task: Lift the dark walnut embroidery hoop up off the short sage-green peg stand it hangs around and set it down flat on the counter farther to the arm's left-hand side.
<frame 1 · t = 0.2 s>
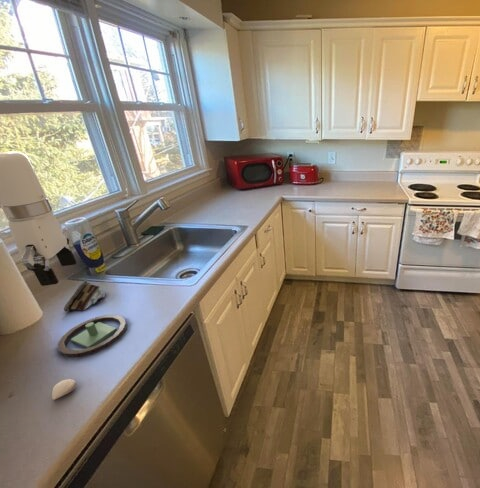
hand: (60, 273, 71), 24 cm above the countertop, tool pointing down, fingers open, 9 cm apart
cream half-moon wedge: (64, 393, 67), on the countertop
peg stand: (95, 336, 83), on the countertop
chocolate cake: (89, 303, 98), on the countertop
hoop: (95, 336, 83), on the countertop
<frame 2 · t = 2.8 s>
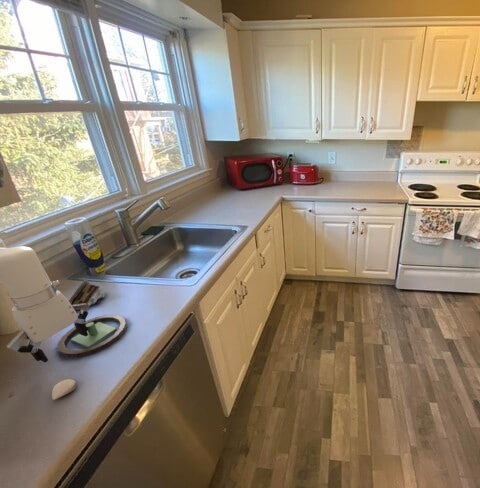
hand: (64, 346, 76), 3 cm above the countertop, tool pointing down, fingers open, 9 cm apart
nothing on the countertop moved.
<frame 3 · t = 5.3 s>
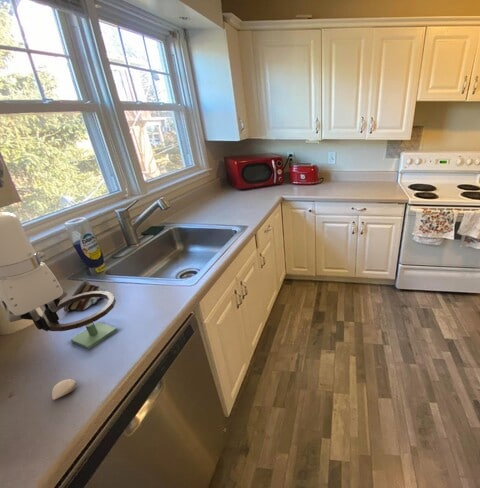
hand: (49, 326, 73), 10 cm above the countertop, tool pointing down, fingers closed on hoop, 1 cm apart
hoop: (81, 311, 79), point 9 cm above the countertop, touching gripper
everything else where it was.
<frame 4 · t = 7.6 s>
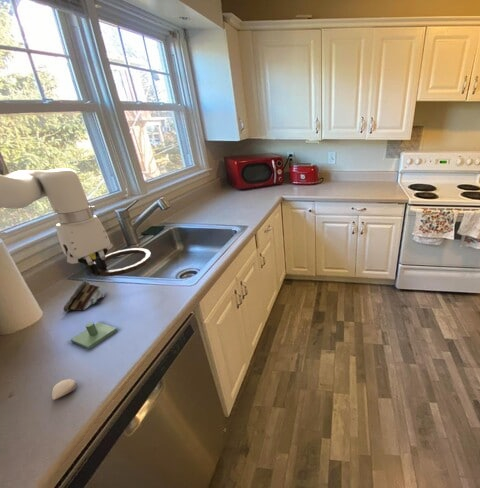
hand: (99, 272, 84), 17 cm above the countertop, tool pointing down, fingers closed on hoop, 1 cm apart
hoop: (123, 263, 91), point 16 cm above the countertop, touching gripper
everything else where it was.
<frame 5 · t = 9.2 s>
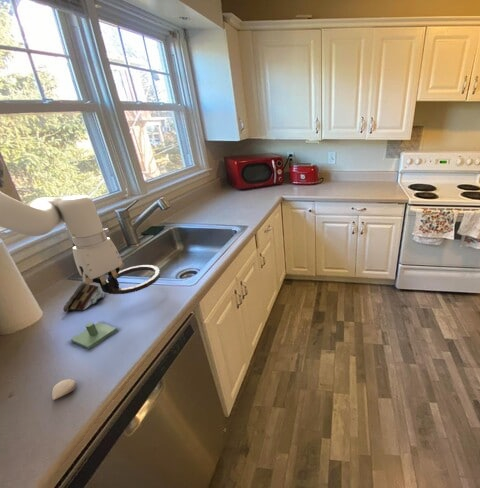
hand: (112, 290, 89), 9 cm above the countertop, tool pointing down, fingers closed on hoop, 1 cm apart
hoop: (134, 280, 95), point 9 cm above the countertop, touching gripper
everything else where it was.
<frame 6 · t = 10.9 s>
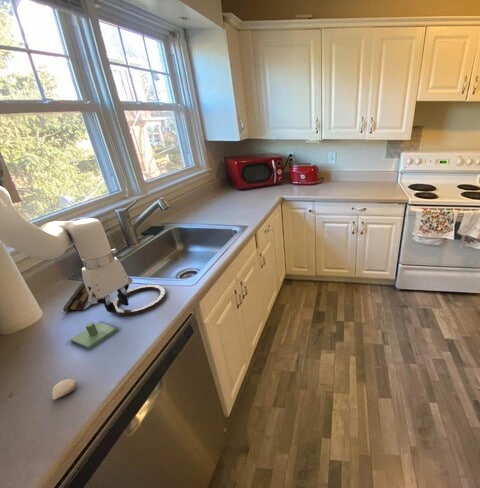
hand: (118, 307, 92), 2 cm above the countertop, tool pointing down, fingers open, 3 cm apart
hoop: (140, 300, 99), on the countertop
everything else where it was.
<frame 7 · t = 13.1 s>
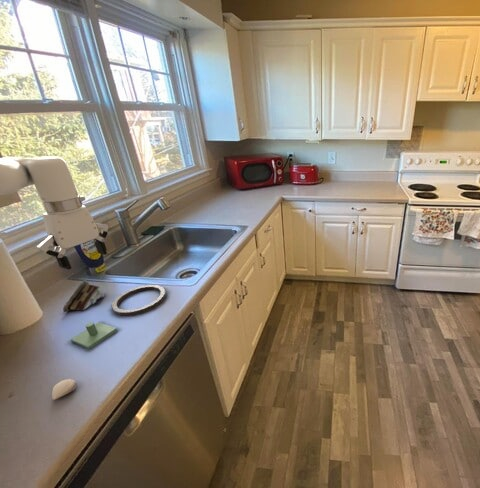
hand: (85, 260, 82), 21 cm above the countertop, tool pointing down, fingers open, 9 cm apart
nothing on the countertop moved.
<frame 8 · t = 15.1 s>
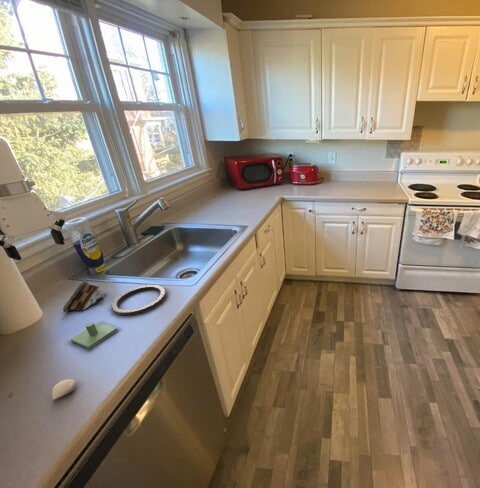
hand: (39, 251, 76), 26 cm above the countertop, tool pointing down, fingers open, 9 cm apart
nothing on the countertop moved.
at the end: hoop inside the target area (0.4 cm from its centre), on the countertop; hoop tilted 0°; the gripper is holding nothing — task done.
